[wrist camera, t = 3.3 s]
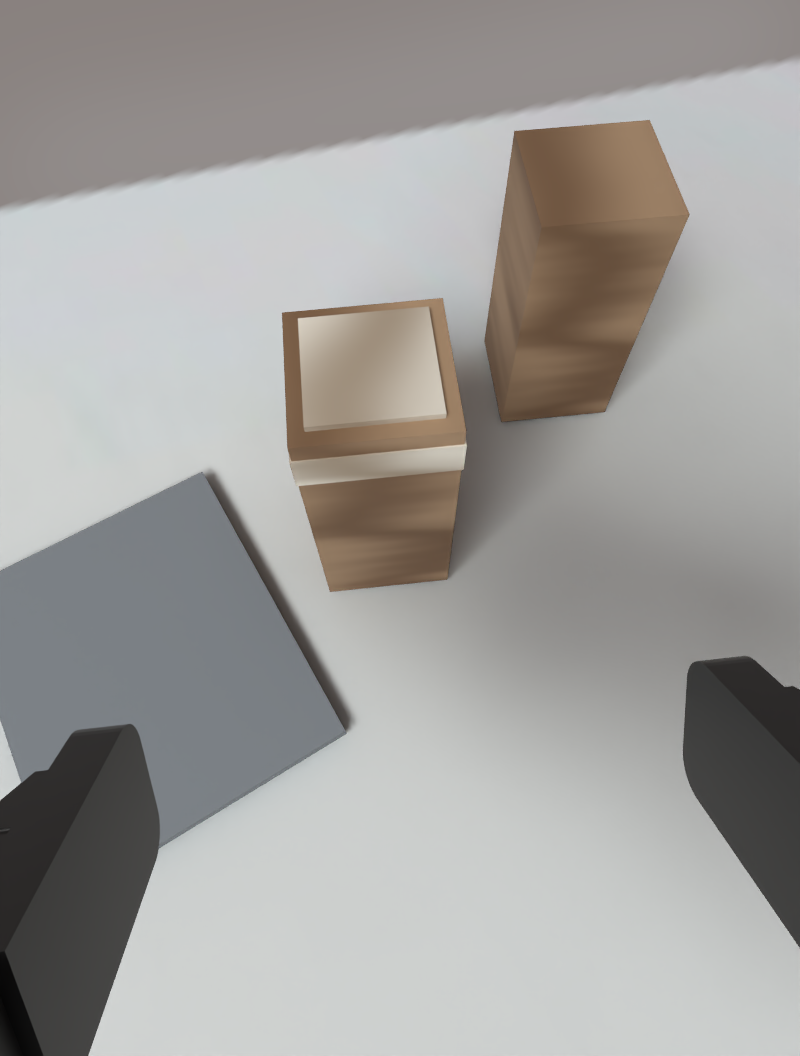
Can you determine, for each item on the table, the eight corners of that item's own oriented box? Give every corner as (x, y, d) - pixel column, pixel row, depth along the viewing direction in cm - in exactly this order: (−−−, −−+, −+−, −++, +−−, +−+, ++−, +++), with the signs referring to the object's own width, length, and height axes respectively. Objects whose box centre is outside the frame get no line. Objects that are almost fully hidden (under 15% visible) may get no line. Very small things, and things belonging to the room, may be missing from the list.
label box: (433, 477, 28) (444, 291, 19) (448, 580, 26) (469, 427, 17) (321, 488, 28) (278, 306, 19) (328, 593, 26) (284, 446, 17)
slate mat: (205, 477, 28) (202, 471, 28) (346, 733, 24) (345, 730, 23) (-35, 596, 26) (-43, 591, 26) (69, 903, 21) (61, 903, 21)
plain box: (581, 331, 31) (649, 119, 22) (604, 411, 29) (689, 214, 21) (484, 340, 31) (514, 130, 22) (501, 422, 29) (541, 227, 20)
